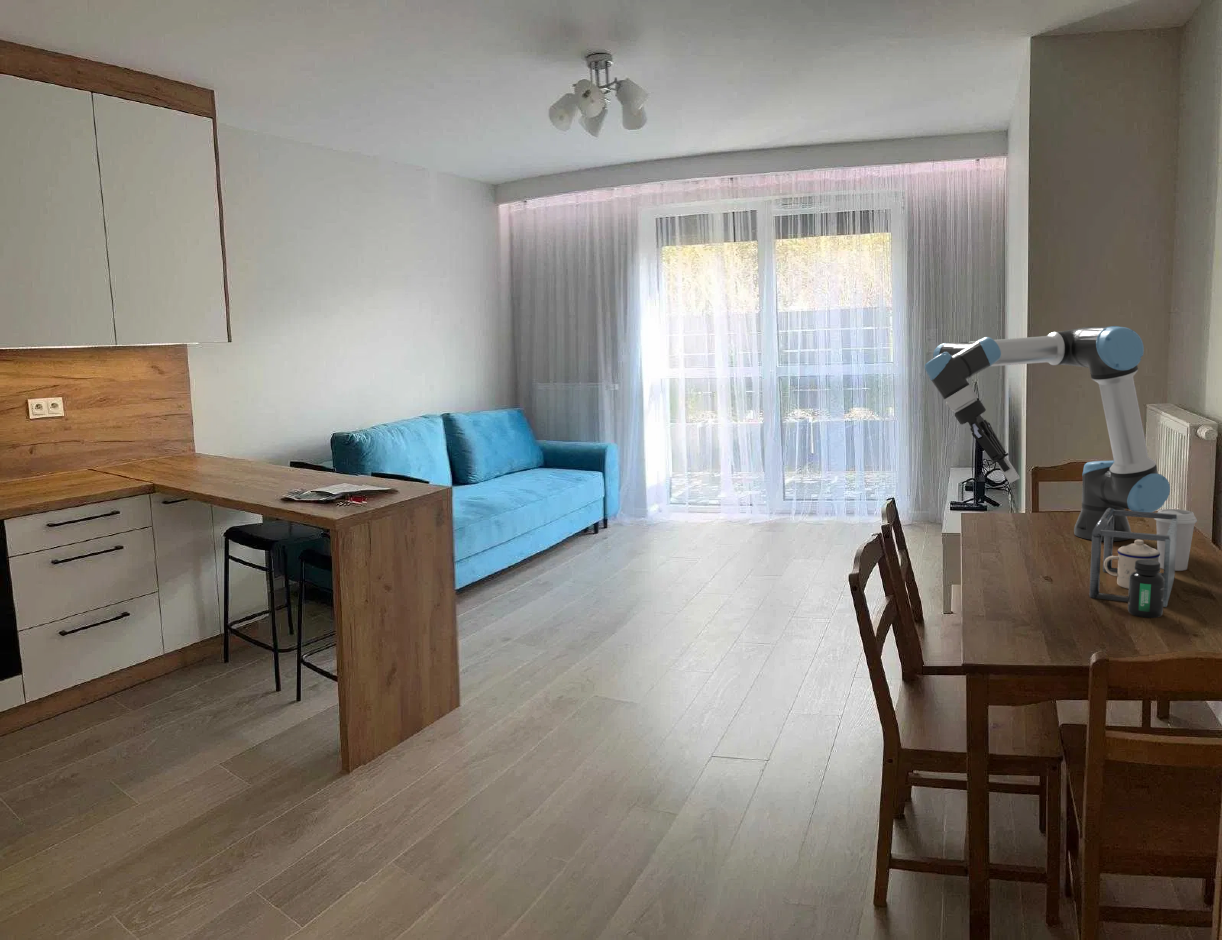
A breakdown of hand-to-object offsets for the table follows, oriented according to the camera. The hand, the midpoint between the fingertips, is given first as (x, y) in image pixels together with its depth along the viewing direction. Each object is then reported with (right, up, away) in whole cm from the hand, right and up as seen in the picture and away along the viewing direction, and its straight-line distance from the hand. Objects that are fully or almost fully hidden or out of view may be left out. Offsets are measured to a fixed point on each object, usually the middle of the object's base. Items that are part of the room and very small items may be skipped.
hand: (1014, 480), depth 241 cm
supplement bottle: (+13, -30, -36) cm, 49 cm away
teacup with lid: (+22, -26, -15) cm, 37 cm away
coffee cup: (+41, -23, -2) cm, 47 cm away
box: (+22, -26, -17) cm, 38 cm away
